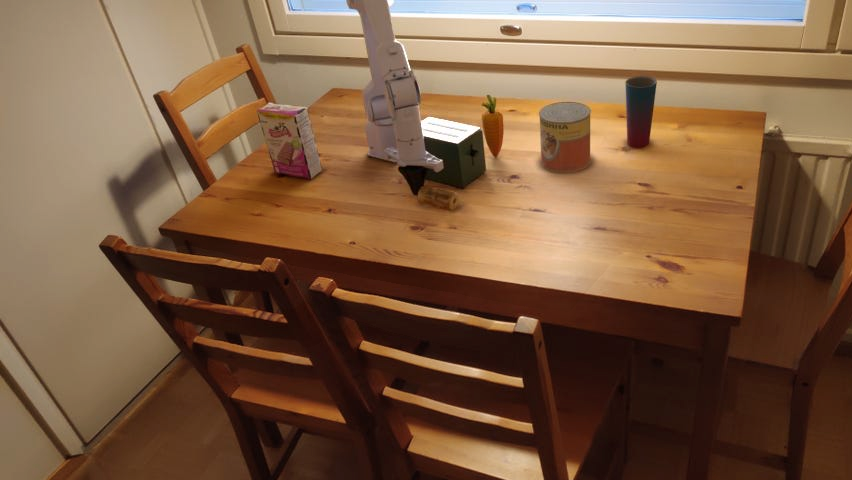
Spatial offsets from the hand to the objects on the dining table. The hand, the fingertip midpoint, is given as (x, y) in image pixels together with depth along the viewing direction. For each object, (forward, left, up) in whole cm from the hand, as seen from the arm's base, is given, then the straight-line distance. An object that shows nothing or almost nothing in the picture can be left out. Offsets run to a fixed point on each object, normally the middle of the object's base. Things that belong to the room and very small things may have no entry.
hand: (418, 193), depth 148 cm
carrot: (+4, +24, -2) cm, 24 cm away
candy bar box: (-35, -3, -2) cm, 35 cm away
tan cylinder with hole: (+6, 0, -2) cm, 6 cm away
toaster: (-1, +12, -1) cm, 12 cm away
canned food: (+20, +29, -2) cm, 35 cm away
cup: (+31, +44, -2) cm, 54 cm away
